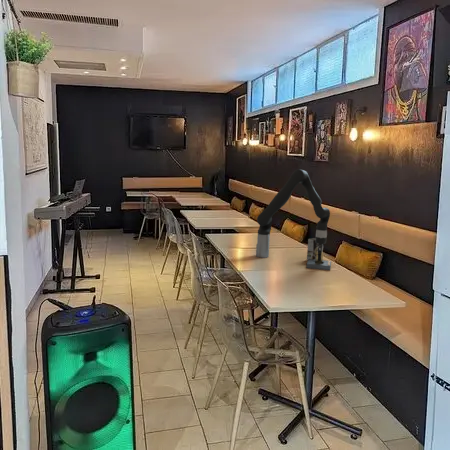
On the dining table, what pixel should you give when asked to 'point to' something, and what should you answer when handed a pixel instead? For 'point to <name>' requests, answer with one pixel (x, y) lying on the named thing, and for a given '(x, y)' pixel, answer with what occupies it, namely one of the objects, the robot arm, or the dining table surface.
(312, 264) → the plate
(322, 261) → the translucent olive cylinder
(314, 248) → the coffee box
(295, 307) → the dining table surface
